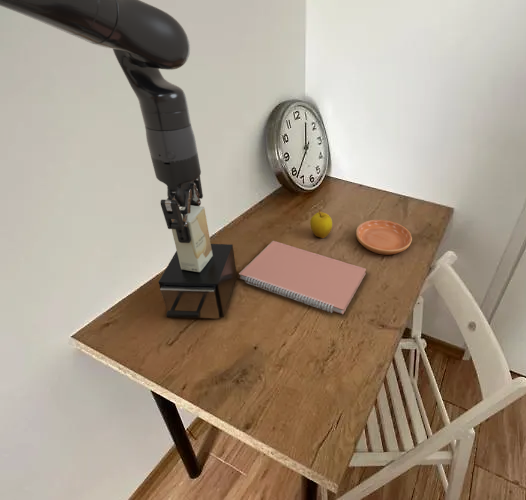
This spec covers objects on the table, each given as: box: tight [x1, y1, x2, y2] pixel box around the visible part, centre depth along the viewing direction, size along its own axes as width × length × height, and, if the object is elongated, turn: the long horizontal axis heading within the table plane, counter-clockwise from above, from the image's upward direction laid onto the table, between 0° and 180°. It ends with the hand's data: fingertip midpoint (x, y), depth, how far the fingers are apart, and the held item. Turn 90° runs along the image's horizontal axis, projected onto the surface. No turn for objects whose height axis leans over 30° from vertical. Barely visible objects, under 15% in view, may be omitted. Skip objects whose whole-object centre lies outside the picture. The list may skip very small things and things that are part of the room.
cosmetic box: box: [171, 205, 213, 272], centre depth 72 cm, size 6×4×12 cm
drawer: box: [159, 285, 221, 319], centre depth 75 cm, size 17×10×8 cm, turn 1°
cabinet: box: [157, 243, 238, 318], centre depth 78 cm, size 14×12×10 cm
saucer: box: [355, 219, 413, 256], centre depth 102 cm, size 16×16×3 cm
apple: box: [309, 209, 333, 239], centre depth 101 cm, size 6×6×8 cm
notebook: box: [238, 240, 367, 315], centre depth 87 cm, size 27×17×2 cm, turn 67°
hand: (191, 231), depth 71 cm, fingers closed on cosmetic box, 6 cm apart
